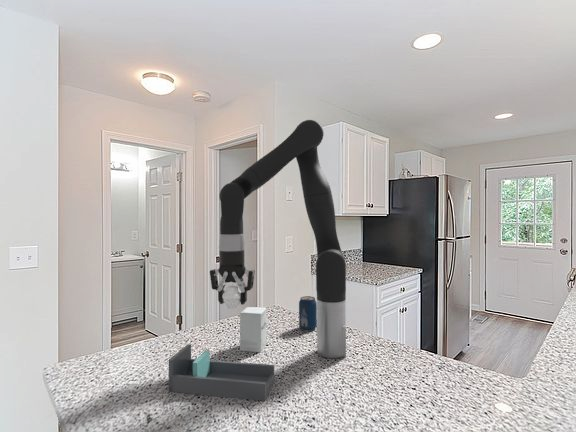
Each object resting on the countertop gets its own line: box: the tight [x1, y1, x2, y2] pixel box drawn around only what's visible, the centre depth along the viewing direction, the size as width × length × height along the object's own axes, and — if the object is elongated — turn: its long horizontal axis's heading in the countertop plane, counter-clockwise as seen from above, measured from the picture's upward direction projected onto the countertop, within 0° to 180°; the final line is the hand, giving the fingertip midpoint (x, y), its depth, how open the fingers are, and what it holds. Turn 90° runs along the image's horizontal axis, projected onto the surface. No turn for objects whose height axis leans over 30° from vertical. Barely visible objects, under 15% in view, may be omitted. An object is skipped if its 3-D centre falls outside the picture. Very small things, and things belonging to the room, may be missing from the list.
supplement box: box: [239, 306, 267, 353], centre depth 108 cm, size 7×7×13 cm
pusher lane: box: [168, 343, 275, 402], centre depth 83 cm, size 25×10×8 cm, turn 80°
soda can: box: [298, 295, 317, 332], centre depth 126 cm, size 7×7×12 cm
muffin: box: [222, 283, 241, 309], centre depth 98 cm, size 6×6×7 cm
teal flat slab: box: [193, 349, 211, 377], centre depth 85 cm, size 1×8×6 cm, turn 170°
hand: (232, 303), depth 98 cm, fingers closed on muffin, 6 cm apart
